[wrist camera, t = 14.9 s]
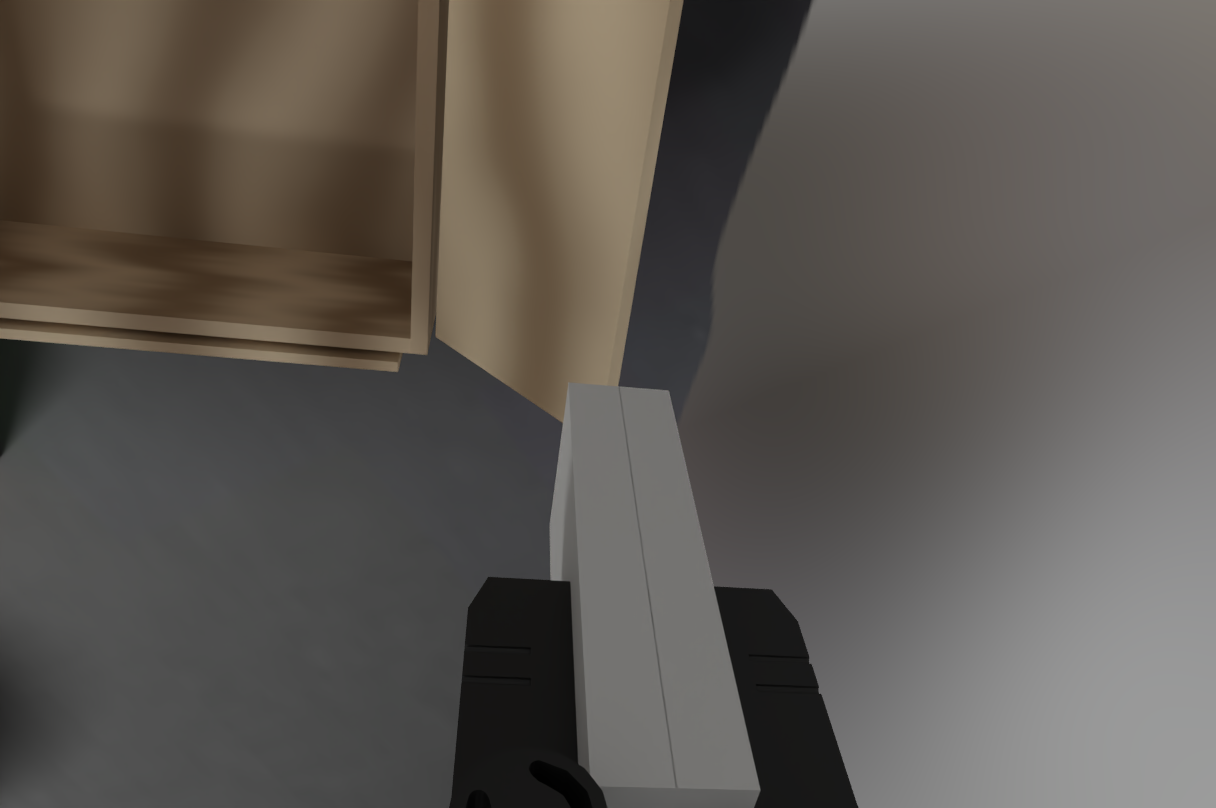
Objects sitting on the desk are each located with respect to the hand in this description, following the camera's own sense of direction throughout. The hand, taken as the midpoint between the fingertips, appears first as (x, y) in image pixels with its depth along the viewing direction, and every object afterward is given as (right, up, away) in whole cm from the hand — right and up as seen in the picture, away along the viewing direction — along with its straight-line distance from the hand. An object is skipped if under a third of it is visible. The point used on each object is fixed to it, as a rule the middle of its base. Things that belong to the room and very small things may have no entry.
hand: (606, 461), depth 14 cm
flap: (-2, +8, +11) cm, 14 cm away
